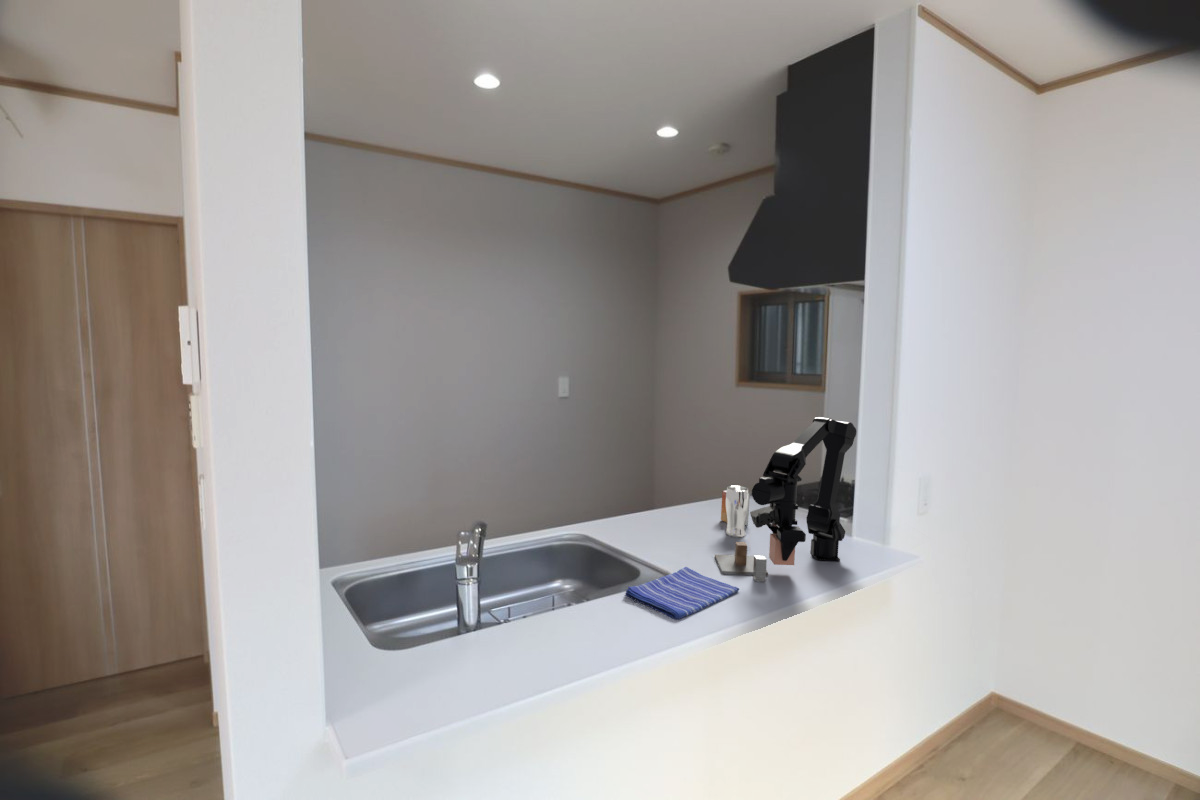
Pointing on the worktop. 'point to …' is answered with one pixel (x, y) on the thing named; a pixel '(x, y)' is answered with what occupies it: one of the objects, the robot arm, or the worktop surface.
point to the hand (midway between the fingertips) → (781, 556)
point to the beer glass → (736, 510)
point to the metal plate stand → (737, 561)
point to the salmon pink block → (779, 552)
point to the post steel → (759, 568)
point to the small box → (723, 509)
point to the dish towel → (681, 593)
